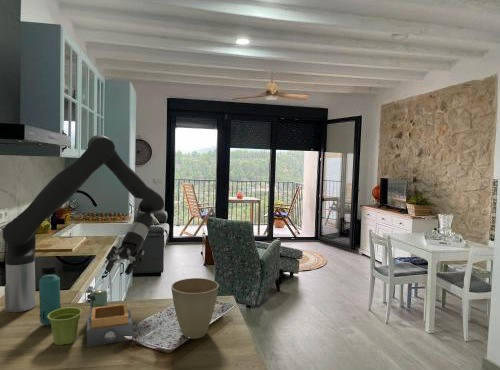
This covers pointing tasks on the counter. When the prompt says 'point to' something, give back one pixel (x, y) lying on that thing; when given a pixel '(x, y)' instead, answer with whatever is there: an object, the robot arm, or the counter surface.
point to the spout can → (97, 299)
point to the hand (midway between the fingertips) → (116, 272)
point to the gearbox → (109, 325)
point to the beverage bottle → (49, 293)
